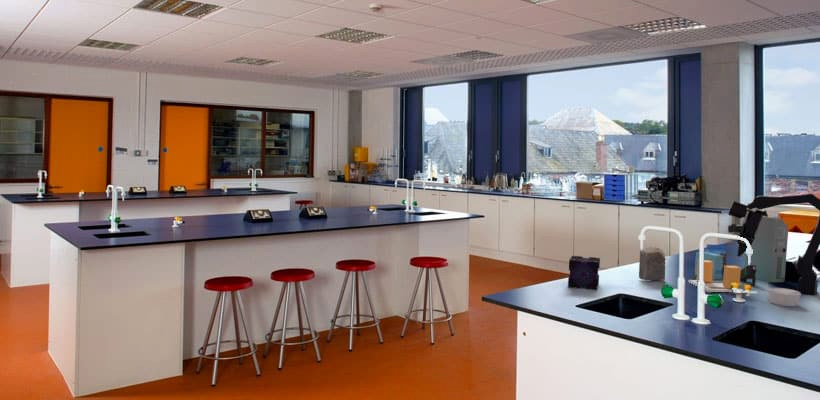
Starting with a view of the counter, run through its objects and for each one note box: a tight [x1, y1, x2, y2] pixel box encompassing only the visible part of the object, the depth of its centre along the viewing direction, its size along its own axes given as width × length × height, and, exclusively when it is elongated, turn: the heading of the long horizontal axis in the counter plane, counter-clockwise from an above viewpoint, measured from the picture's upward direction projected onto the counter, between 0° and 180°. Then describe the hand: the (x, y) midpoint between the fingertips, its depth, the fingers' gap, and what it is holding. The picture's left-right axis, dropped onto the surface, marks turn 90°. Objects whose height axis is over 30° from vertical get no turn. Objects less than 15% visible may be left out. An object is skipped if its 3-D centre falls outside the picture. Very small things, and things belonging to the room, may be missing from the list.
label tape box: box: [705, 244, 727, 270], centre depth 318 cm, size 9×4×12 cm, turn 81°
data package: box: [694, 251, 723, 281], centre depth 293 cm, size 12×4×12 cm, turn 20°
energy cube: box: [567, 255, 601, 291], centre depth 270 cm, size 12×12×12 cm
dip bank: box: [687, 279, 732, 293], centre depth 273 cm, size 17×19×1 cm
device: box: [743, 215, 789, 283], centre depth 294 cm, size 16×8×30 cm, turn 16°
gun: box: [740, 265, 756, 287], centre depth 285 cm, size 3×16×10 cm, turn 174°
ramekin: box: [767, 287, 802, 307], centre depth 246 cm, size 11×11×5 cm
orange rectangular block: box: [722, 265, 742, 288], centre depth 266 cm, size 5×4×9 cm
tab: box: [695, 260, 713, 282], centre depth 278 cm, size 5×4×9 cm
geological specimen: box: [638, 246, 667, 282], centre depth 285 cm, size 11×6×15 cm, turn 109°
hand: (739, 254), depth 280 cm, fingers open, 9 cm apart
